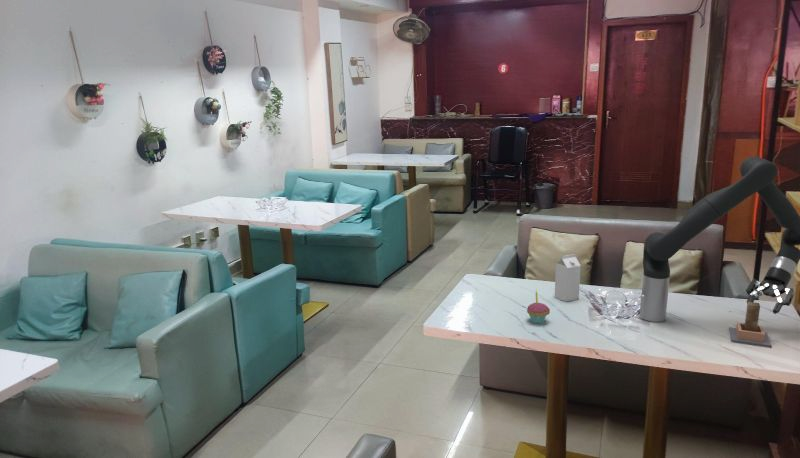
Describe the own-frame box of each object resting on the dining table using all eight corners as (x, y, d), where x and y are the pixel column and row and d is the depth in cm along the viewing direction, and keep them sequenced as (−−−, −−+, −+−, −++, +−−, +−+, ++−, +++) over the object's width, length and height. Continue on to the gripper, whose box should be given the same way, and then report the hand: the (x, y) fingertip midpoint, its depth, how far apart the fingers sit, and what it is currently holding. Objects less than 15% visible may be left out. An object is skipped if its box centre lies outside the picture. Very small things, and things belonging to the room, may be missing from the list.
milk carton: (554, 297, 255) (556, 254, 250) (567, 294, 258) (569, 251, 253) (565, 302, 249) (567, 258, 244) (578, 299, 252) (581, 256, 247)
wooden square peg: (744, 336, 212) (748, 305, 209) (743, 333, 215) (747, 301, 212) (755, 338, 210) (760, 306, 207) (754, 334, 213) (759, 303, 210)
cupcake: (522, 318, 233) (523, 289, 230) (540, 315, 236) (542, 286, 233) (534, 327, 225) (535, 297, 222) (553, 323, 228) (555, 293, 225)
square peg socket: (731, 341, 210) (732, 331, 209) (728, 329, 220) (730, 319, 219) (771, 347, 205) (772, 337, 204) (766, 334, 215) (768, 324, 215)
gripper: (757, 261, 221) (738, 298, 217) (800, 271, 209) (780, 309, 206) (762, 272, 225) (743, 308, 221) (804, 282, 214) (785, 320, 210)
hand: (761, 309), depth 214 cm, fingers open, 8 cm apart
